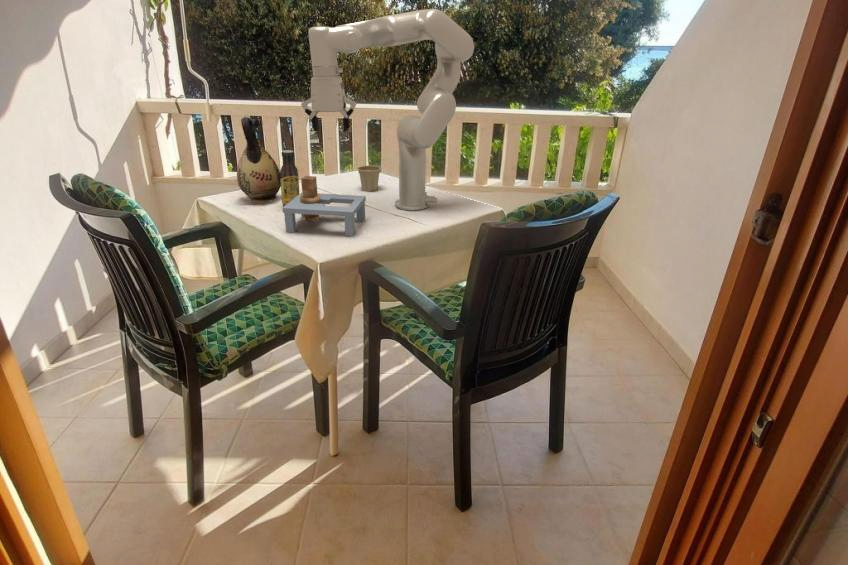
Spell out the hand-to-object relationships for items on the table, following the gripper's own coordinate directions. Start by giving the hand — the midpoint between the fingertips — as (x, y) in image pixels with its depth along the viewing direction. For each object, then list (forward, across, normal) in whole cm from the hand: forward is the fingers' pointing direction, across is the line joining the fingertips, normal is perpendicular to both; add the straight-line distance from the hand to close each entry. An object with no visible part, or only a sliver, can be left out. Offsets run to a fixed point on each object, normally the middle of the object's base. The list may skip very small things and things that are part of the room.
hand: (331, 130), depth 157 cm
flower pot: (+29, -4, -33) cm, 44 cm away
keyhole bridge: (+28, +1, +11) cm, 30 cm away
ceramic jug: (+28, +33, -12) cm, 44 cm away
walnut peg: (+26, +6, +11) cm, 29 cm away
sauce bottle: (+28, +19, -5) cm, 34 cm away
